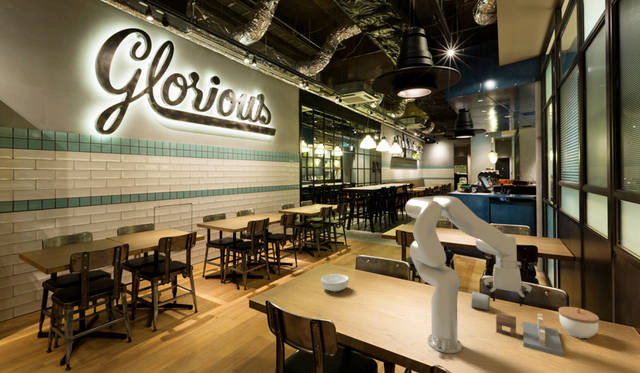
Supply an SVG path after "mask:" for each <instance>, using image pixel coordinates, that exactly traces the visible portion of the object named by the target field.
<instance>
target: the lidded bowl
mask: <svg viewBox="0 0 640 373" xmlns="http://www.w3.org/2000/svg"><path fill="white" fill-rule="evenodd" d="M558 318H559V319H558V320H559V322H560V325H561V326H562V328H563V329H564V330H565V331H566V333H567V335H569V336H572V337H574V338H577V337H578V339H581V338H589V337H590V338H592V337H593V336H595V335H596V333H597V332H598V330H599V321H600V317H599V316H598V315H597V314H595V313H594V312H592V311H589V310H586V309H583V308H580V307H573V306H562V307H561V306H560V307H559V308H558ZM590 338H589V339H590Z"/></svg>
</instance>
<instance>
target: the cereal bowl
mask: <svg viewBox="0 0 640 373" xmlns="http://www.w3.org/2000/svg"><path fill="white" fill-rule="evenodd" d="M320 282H321V286H322V287H323V289H325V290H326V291H329V290H330V291H329V292H331V291H334V292H333V293H336V292H335V291H339V292H341V291H342V290H344V289H345V288H347V286H348V285H349V277H348V276H347V275H344V274H341V273H332V274H331V273H330V274H326V275H323V276H322V277H321V280H320ZM340 290H341V291H340Z"/></svg>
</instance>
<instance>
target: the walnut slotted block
mask: <svg viewBox="0 0 640 373" xmlns="http://www.w3.org/2000/svg"><path fill="white" fill-rule="evenodd" d="M495 320H496V322H495V326H496V327H495V333H498V334H502V332H503V327H504V328H505V327H506V328H509V329H510V330H509V331H510V334H509V335H510V337H514V338H517V317H516V316H512V315H509V314H505V313H500V312H496V315H495Z"/></svg>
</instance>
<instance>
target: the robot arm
mask: <svg viewBox="0 0 640 373" xmlns="http://www.w3.org/2000/svg"><path fill="white" fill-rule="evenodd" d="M404 209H405V212H406V214H407V215H408V217H410V218H413V219H416V221H415V223H414V226H413V229H412V234H413V235H412V236H413V238H414V240H413V242H412V243H411V244H410V245H409V256H410V258H411V261H412V262H413V263H412V264H414V267H415V269H416V271H417V274H418V276H420V278H421V279H422V281H424V282H425V283H427V284H429V285H431V286H432V287H434V290H433V292H432V296H431V301H430V303H431V334H430V335H429V336H428V337H427V343H428V345H429V346H430V347H431V348H432V349H433V350H435V351H438V352H440V353H441V352H442V353H443V354H444V353H445V354H457V353H459V352H461V351H462V349H463V345H462V342H461V341H460V340H459V339H458V295H459V290H460V284H461V279H460V276H459V274H458V272H456V271H455V269H453V268H451V267H449V266H446V265H445V264H446V261H447V255H446V251H445V250H444V248H443V246H442V244H441V240H440V237H439V236H438V234H437V230H436V229H437V224H438V222H439V220H440V218H441V217H445V218H447V219H448V221H450V222H451V223H452V224H453V225H454V226H455V227H456V228H457V229H458V230H460V231H461V232H462V233H464V234H465V235H468V236H470V237H472V238H474V239H475V246H476V248H477V250H479V251H481V252H483V253H486V254H490V255H493V256H495V264H494V265H493V269H492V271H493V272H492V277H488V278H485V279H483V283H484V285H485V287H486V288H487V289H488V290H489V291H490V299H492V302H496V290H504V291H509V292H515V293H517V294H519V306H520V307H523V305H524V304H525V301H524V300H525V297H526V296H527V295H529V294H530V292H531V291H532V290H533V288H532V287H533V286H531V285H529V284H527V283H526V282H524V281H522V277H521V271H520V270H521V269H520V267H519V266H522V262H520V261H518V260H517V258H518V257H517V237H516V236H515V235H513V234H507V233H503V231H501V230H500V229H498V228H497V227H495V226H494V225H491V224H490V223H488V222H487V221H485V220H484V219H481V218H479V217H478V216H477V215H476V214H475V213H474V212H473V211H472V210H471V209H470V208H469V207H468V206H466V204H464V203H463V201H462V200H461V199H459V198H458V197H455V196H449V195H434V196H421V197H412V198H410V199H408V201H407V202H406V204H405V207H404ZM489 282H492V286H491V285H490V283H489ZM522 287H523V288H526V289H525V290H522Z"/></svg>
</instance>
